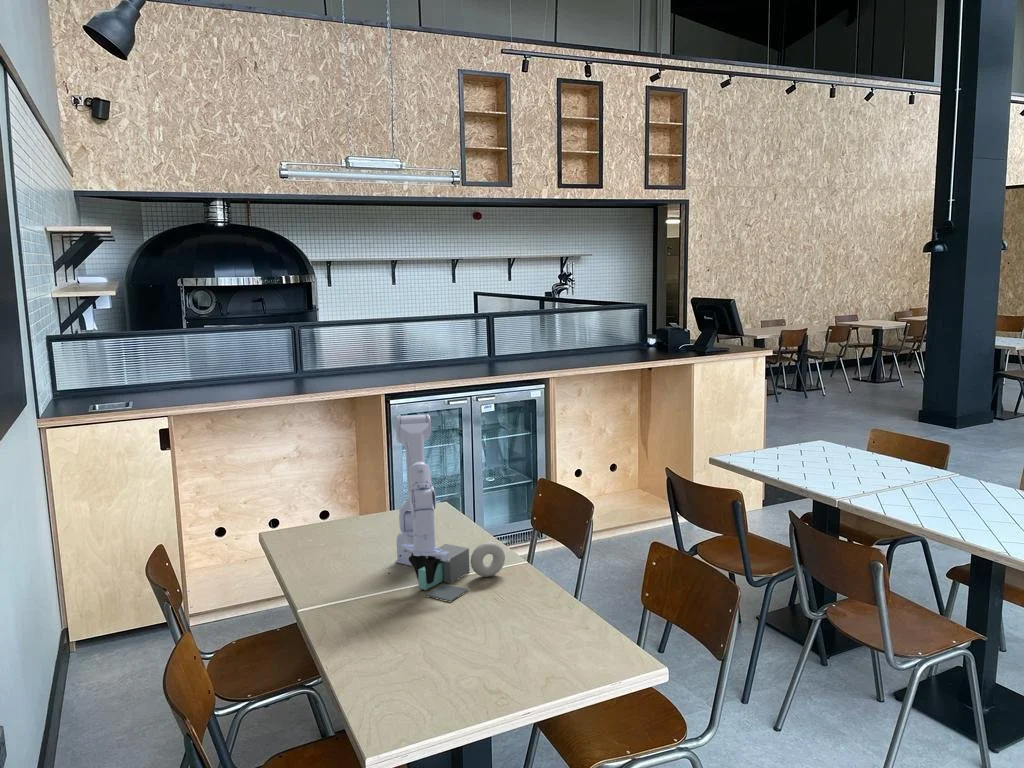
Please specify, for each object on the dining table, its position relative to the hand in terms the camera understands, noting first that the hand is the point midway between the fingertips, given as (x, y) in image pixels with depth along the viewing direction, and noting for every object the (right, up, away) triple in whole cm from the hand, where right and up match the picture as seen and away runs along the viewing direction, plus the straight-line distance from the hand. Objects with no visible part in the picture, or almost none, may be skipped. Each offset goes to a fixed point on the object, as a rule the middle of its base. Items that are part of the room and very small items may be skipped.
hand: (425, 581), depth 205 cm
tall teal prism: (+2, -1, +3) cm, 4 cm away
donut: (+17, -1, +8) cm, 18 cm away
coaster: (+6, -2, -3) cm, 7 cm away
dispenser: (+5, -1, +9) cm, 10 cm away
